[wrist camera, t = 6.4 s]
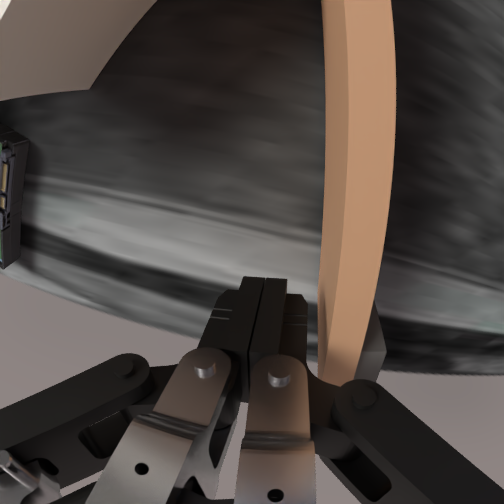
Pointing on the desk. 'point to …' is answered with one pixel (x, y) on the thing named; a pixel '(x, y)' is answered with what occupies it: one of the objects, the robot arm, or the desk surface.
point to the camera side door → (355, 185)
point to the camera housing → (60, 42)
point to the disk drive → (11, 192)
